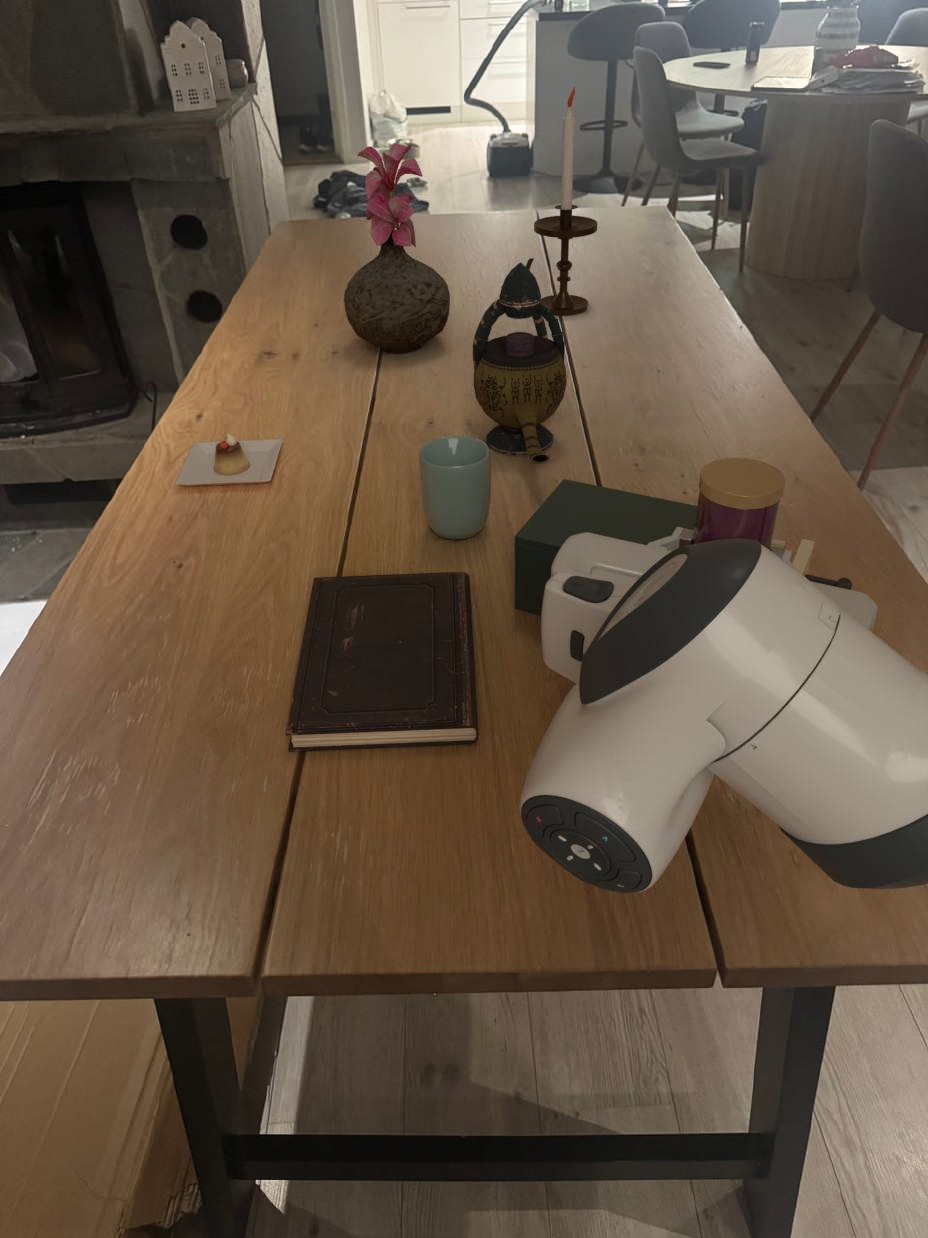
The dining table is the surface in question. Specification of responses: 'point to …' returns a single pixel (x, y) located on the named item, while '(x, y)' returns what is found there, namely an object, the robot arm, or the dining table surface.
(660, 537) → the cabinet
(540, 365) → the teapot
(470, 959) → the dining table surface
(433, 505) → the cup
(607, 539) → the robot arm
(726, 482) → the canister
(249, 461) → the dessert
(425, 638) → the hardcover book
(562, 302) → the candlestick
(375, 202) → the vase
